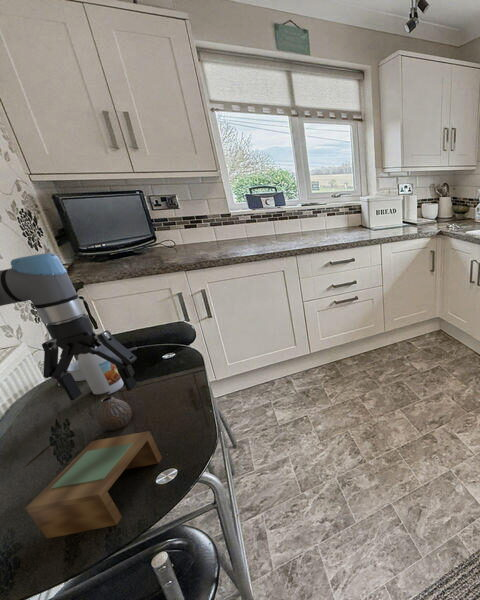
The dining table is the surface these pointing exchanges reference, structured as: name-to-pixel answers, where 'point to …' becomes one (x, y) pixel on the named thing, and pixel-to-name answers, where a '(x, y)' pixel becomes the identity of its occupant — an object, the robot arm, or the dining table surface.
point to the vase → (113, 413)
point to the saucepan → (76, 370)
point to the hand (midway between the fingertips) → (104, 392)
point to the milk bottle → (99, 373)
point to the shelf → (90, 485)
